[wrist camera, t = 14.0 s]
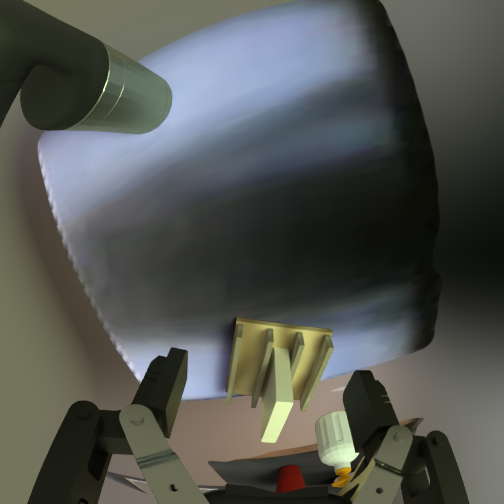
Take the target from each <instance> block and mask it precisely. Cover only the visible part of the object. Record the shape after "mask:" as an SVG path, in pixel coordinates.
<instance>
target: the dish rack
mask: <svg viewBox="0 0 504 504" xmlns="http://www.w3.org/2000/svg"><path fill="white" fill-rule="evenodd" d="M332 334H333V332H332V329H324V328H314V327H305V326H296V325H288V324H280V323H272V322H265V321H258V320H251V319H244V318H238V317H237V320H236V327H235V333H234V340H233V346H232V353H231V360H230V366H229V373H228V379H227V386H226V392H227V400H226V404H228V405H230V403H231V397H232V393H234V394H241V395H249V396H252V406H251V407H252V408H256V405H257V402H258V398H259V397H262V390H263V387H264V383H265V380H266V376H267V373H268V369H269V366H270V362H271V358H272V355H273V351H274V347H276V348H285V349H288V350H289V360H290V370H291V380H292V391H293V400H300V408H301V412H305V411H306V408H307V407H308V404H309V402H310V400H311V398H312V396H313V394H314V392H315V390H316V388H317V386H318V383H319V381H320V379H321V377H322V375H323V372H324V370H325V368H326V366H327V363H328V361H329V359H330V356H331V354H332V351H333V349H334V347H333V344H332V340H331V336H332Z"/></svg>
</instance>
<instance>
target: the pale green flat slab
mask: <svg viewBox="0 0 504 504" xmlns="http://www.w3.org/2000/svg"><path fill="white" fill-rule="evenodd" d="M293 403H294V402H293V391H292V380H291V370H290V360H289V350H288V349H285V348H276V347H274V351H273V355H272V358H271V362H270V366H269V369H268V373H267V376H266V380H265V383H264V387H263V390H262V420H261V442H269V443H275V442H276V440H277V438H278V436H279V434H280V432H281V430H282V428H283V425H284V423H285V421H286V419H287V417H288V414H289V412H290V410H291V407H292V405H293Z"/></svg>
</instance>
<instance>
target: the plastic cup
mask: <svg viewBox="0 0 504 504" xmlns="http://www.w3.org/2000/svg"><path fill="white" fill-rule="evenodd" d="M301 488H306V487H305V483H304V480H303V477H302V474H301V471H300V468H299V466H296V465H287V466H283V467H282V468H281V470H280V474H279V478H278V484H277V490H276V493H283V492H288V491H292V490H296V489H301Z"/></svg>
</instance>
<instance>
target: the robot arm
mask: <svg viewBox="0 0 504 504" xmlns="http://www.w3.org/2000/svg"><path fill="white" fill-rule="evenodd" d="M20 88H21V93H20V102H21V108H22V112H23V114H24V117H25V118H26V120H27V121H28V123H29V124H30V125H32V126H33V127H35V128H37V129H40V130H49V131H51V130H74V131H80V130H81V131H104V132H119V133H131V134H143V133H147V132H150V131H152V130H154V129H155V128H157V127H158V126H159V125H160V124H161V123H162V122H163V121H164V120H165V118H166V117H167V115H168V113H169V111H170V108H171V105H172V93H171V89H170V87H169V85H168V84H167V82H166V81H165V80H164V79H162V78H161V77H160V76H158V75H157V74H155V73H154V72H152V71H151V70H149V69H148V68H146V67H144V66H143V65H141V64H140V63H138V62H136V61H135V60H133V59H131V58H130V57H128V56H126V55H125V54H123V53H121V52H120V51H118V50H116V49H114V48H112V47H111V46H109V45H107V44H105V43H103V42H102V41H100V40H98V39H96V38H94V37H93V36H91V35H88V34H86V33H85V32H83V31H81V30H79V29H77V28H75V27H73V26H71V25H69V24H67V23H65V22H63V21H60V20H58V19H57V18H55V17H53V16H51V15H49V14H47V13H45V12H43V11H42V10H40V9H38V8H36V7H34V6H32V5H31V4H29V3H27V2H25V1H23V0H0V127H1V125H2V123H3V121H4V118H5V116H6V114H7V113H8V111H9V109H10V107H11V105H12V103H13V101H14V99H15V97H16V95H17V94H18V92H19V90H20ZM187 365H188V351H187V350H182V349H178V348H173V347H172V348H171V349H170V351H169V354H168V356H167V357H164V356H158V357H156V358H155V359H154V360H153V361H151V363H150V365H149V367H148V369H147V372H146V374H145V376H144V378H143V380H142V382H141V384H140V386H139V389H138V391H137V393H136V395H135V397H134V399H133V402H132V403H131V404H130V405H128V406H126V407H125V408H123V409H122V410H119V411H108V410H99V409H98V407H97V406H96V405H95V404H93V403H92V402H89V401H78V402H75V403H74V404H72V405H71V407H70V408H69V410H68V412H67V414H66V416H65V418H64V420H63V422H62V424H61V426H60V428H59V430H58V433H57V434H56V436H55V438H54V441H53V443H52V445H51V447H50V449H49V452H48V454H47V456H46V458H45V461H44V463H43V465H42V468H41V470H40V472H39V475H38V477H37V480H36V482H35V485H34V487H33V490H32V493H31V495H30V498H29V501H28V503H27V504H98V500H99V497H100V493H101V490H102V486H103V483H104V480H105V476H106V473H107V470H108V466H109V463H110V460H111V457H112V454H126V455H127V454H128V455H134V457H135V459H136V461H137V464H138V466H139V468H140V470H141V472H142V474H143V476H144V478H145V480H146V482H147V483H148V486H149V487H150V489H151V491H152V493H153V495H154V497H155V499H156V500H157V502H158V504H391V503H392V501H393V499H394V497H395V495H396V492H397V490H398V488H399V486H400V485H401V490H402V495H403V500H404V504H469V500H468V497H467V493H466V490H465V487H464V483H463V481H462V477H461V474H460V471H459V468H458V465H457V462H456V460H455V457H454V454H453V451H452V448H451V446H450V443H449V441H448V438H447V437H446V435H445V434H444V433H442V432H440V431H432V432H430V433H429V434H428V435H427V436H426V437H423V436H415V435H412V434H411V432H410V431H409V430H408V429H407V428H406V427H404V426H401V425H399V422H398V420H397V417H396V414H395V412H394V409H393V407H392V404H391V403H390V399H389V397H388V395H387V392H386V390H385V387H384V386H383V385H382V384H381V383H380V382H379V381H378V380H375V379H374V376H373V374H372V372H371V371H370V370H356V371H355V372H354V373H353V375H352V377H351V379H350V381H349V383H348V385H347V386H346V388H345V390H344V393H343V403H344V407H345V412H346V416H347V420H348V424H349V428H350V432H351V436H352V441H353V445H354V449H355V453H362V452H364V457H363V458H362V460H361V461H360V463H359V465H358V467H357V468H356V470H355V472H354V473H353V475H352V476H351V478H350V480H349V481H348V483H347V484H346V485H345V487H344V488H343V489H342V490H341V491H340V492H339V493H338V494H335V493H332V492H328V487H327V486H326V487H308V488H301V489H296V490H292V491H288V492H283V493H275V492H271V491H267V490H263V489H259V488H256V487H252V486H240V485H231V484H226V486H225V489H217V490H212V491H209V492H206V493H203V494H202V492H201V491H200V489H199V488H198V486H197V485H196V483H195V482H194V480H193V479H192V478H191V476H190V474H189V473H188V471H187V470H186V468H185V467H184V465H183V463H182V462H181V460H180V458H179V457H178V455H177V454H176V453H174V452H173V451H172V449H171V448H170V446H169V444H168V442H167V441H166V439H165V438H170V435H171V431H172V427H173V424H174V421H175V417H176V414H177V411H178V407H179V404H180V401H181V398H182V394H183V391H184V388H185V384H186V380H187ZM426 467H427V470H428V474H429V477H430V485H429V482H428V478H427V475H426V471H425V468H426Z"/></svg>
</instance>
